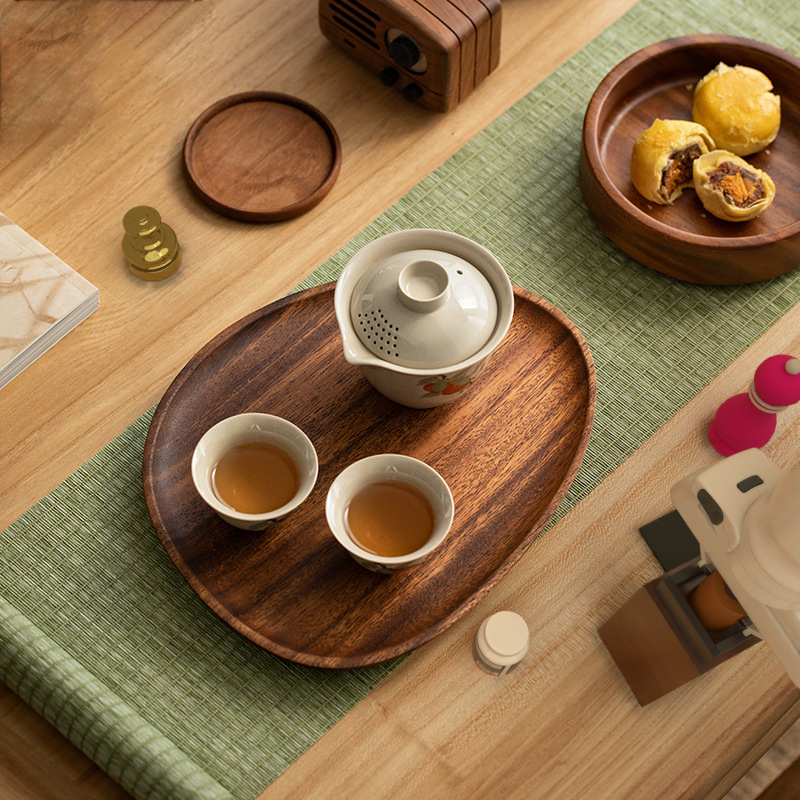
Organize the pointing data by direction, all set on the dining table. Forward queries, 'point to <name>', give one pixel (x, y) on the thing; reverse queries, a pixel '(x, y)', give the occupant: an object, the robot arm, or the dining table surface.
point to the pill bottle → (501, 643)
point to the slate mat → (671, 540)
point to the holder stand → (667, 636)
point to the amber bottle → (715, 604)
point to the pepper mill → (756, 407)
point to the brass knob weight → (149, 244)
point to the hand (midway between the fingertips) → (726, 595)
